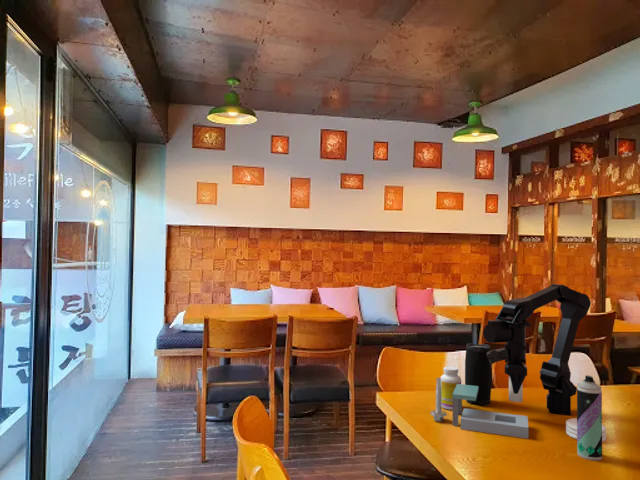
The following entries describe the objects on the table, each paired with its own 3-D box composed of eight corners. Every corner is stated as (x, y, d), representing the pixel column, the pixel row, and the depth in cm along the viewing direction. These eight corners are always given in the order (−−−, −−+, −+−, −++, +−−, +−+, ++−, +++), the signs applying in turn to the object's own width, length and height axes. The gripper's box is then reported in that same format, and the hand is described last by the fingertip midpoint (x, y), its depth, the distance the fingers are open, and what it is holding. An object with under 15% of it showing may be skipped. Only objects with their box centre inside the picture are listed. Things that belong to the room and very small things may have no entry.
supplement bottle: (462, 411, 153) (462, 371, 154) (441, 409, 155) (441, 370, 155) (460, 404, 160) (460, 366, 160) (440, 403, 161) (440, 365, 161)
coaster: (601, 432, 137) (601, 420, 137) (610, 445, 127) (610, 432, 127) (563, 427, 140) (563, 415, 140) (568, 440, 131) (568, 427, 131)
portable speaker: (490, 399, 166) (490, 343, 166) (492, 408, 157) (492, 348, 157) (464, 397, 168) (465, 341, 169) (464, 405, 159) (465, 346, 160)
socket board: (527, 426, 140) (527, 416, 140) (528, 438, 131) (528, 427, 131) (463, 418, 147) (463, 408, 147) (460, 429, 138) (460, 418, 138)
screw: (432, 416, 148) (447, 418, 146) (428, 421, 144) (445, 423, 142) (432, 374, 149) (448, 376, 147) (429, 378, 144) (445, 380, 142)
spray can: (572, 451, 123) (572, 373, 123) (592, 451, 123) (592, 373, 124) (586, 460, 117) (585, 379, 118) (607, 460, 118) (606, 378, 118)
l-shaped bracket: (478, 415, 149) (478, 386, 149) (475, 428, 138) (475, 396, 138) (457, 412, 152) (457, 383, 152) (452, 425, 141) (452, 394, 141)
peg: (522, 399, 149) (522, 370, 149) (522, 402, 145) (522, 373, 146) (508, 397, 150) (508, 368, 151) (508, 401, 147) (508, 371, 147)
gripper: (489, 334, 160) (489, 381, 160) (486, 344, 143) (486, 396, 142) (525, 337, 156) (525, 385, 155) (527, 347, 139) (527, 401, 138)
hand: (515, 391), depth 148 cm, fingers closed on peg, 4 cm apart
